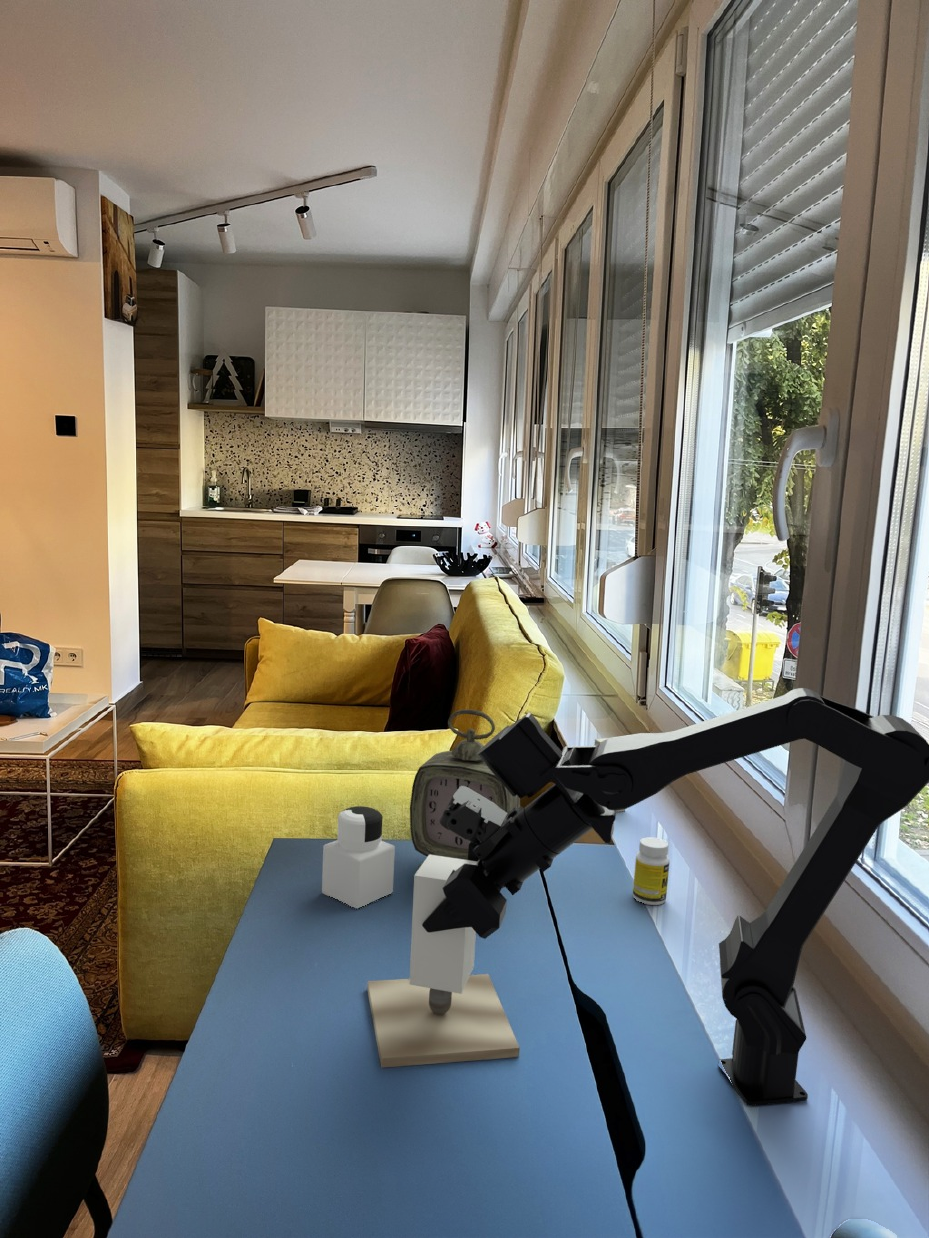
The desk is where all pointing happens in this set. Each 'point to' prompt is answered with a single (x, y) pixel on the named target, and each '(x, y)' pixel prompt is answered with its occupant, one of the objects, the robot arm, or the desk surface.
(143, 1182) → the desk surface
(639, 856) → the supplement bottle
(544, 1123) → the desk surface
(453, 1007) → the post stand
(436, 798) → the tabletop clock
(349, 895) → the medicine bottle
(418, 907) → the tall white pillar
